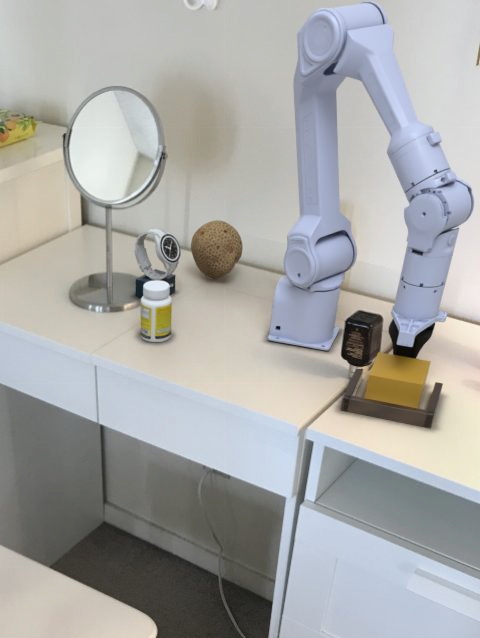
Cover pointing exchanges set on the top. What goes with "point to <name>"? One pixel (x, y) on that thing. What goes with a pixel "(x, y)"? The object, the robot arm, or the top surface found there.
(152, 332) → the supplement bottle
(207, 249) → the natural sponge
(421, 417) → the bay
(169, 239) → the watch
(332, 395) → the top surface
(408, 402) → the block
